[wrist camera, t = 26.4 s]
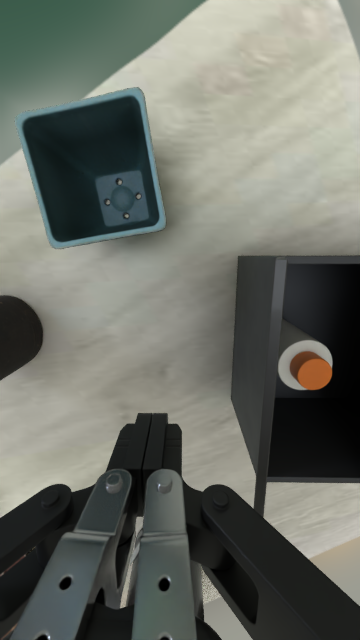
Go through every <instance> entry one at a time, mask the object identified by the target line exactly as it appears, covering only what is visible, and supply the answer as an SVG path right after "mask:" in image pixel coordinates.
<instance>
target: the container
mask: <svg viewBox="0 0 360 640" xmlns="http://www.w3.org/2000/svg"><path fill="white" fill-rule="evenodd" d="M41 343H42V329H41V325H40V322H39V320H38V318H37V316H36V314H35V313H34V312H33V310H32V309H31V308H30V307H29V306H28V305H27V304H25V303H24V302H23V301H21V300H19V299H17V298H15V297H11V296H0V380H2V379H3V378H5V377H6V376H8V375H10V374H11V373H13V372H14V371H16V370H17V369H19V368H21V367H22V366H23V365H25V364H26V363H28V362H29V361H30V360H32V359H33V358H34V357H35V356H36V354H37V353H38V351H39V349H40V347H41Z"/></svg>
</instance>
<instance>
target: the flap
mask: <svg viewBox="0 0 360 640" xmlns="http://www.w3.org/2000/svg"><path fill="white" fill-rule="evenodd" d="M287 266H288V259H287V258H285V257H277V258H276V259H275V260H274V272H273V283H272V295H271V307H270V319H269V331H268V343H267V355H266V367H265V379H264V391H263V403H262V415H261V427H260V438H259V450H258V462H257V474H256V486H255V498H254V510H255V511H256V512H257V513H258V514H260V515H261V516H262V517H263V515H264V504H265V494H266V484H267V473H268V463H269V453H270V442H271V432H272V421H273V411H274V401H275V390H276V380H277V370H278V359H279V349H280V338H281V328H282V318H283V307H284V297H285V287H286V276H287Z"/></svg>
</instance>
